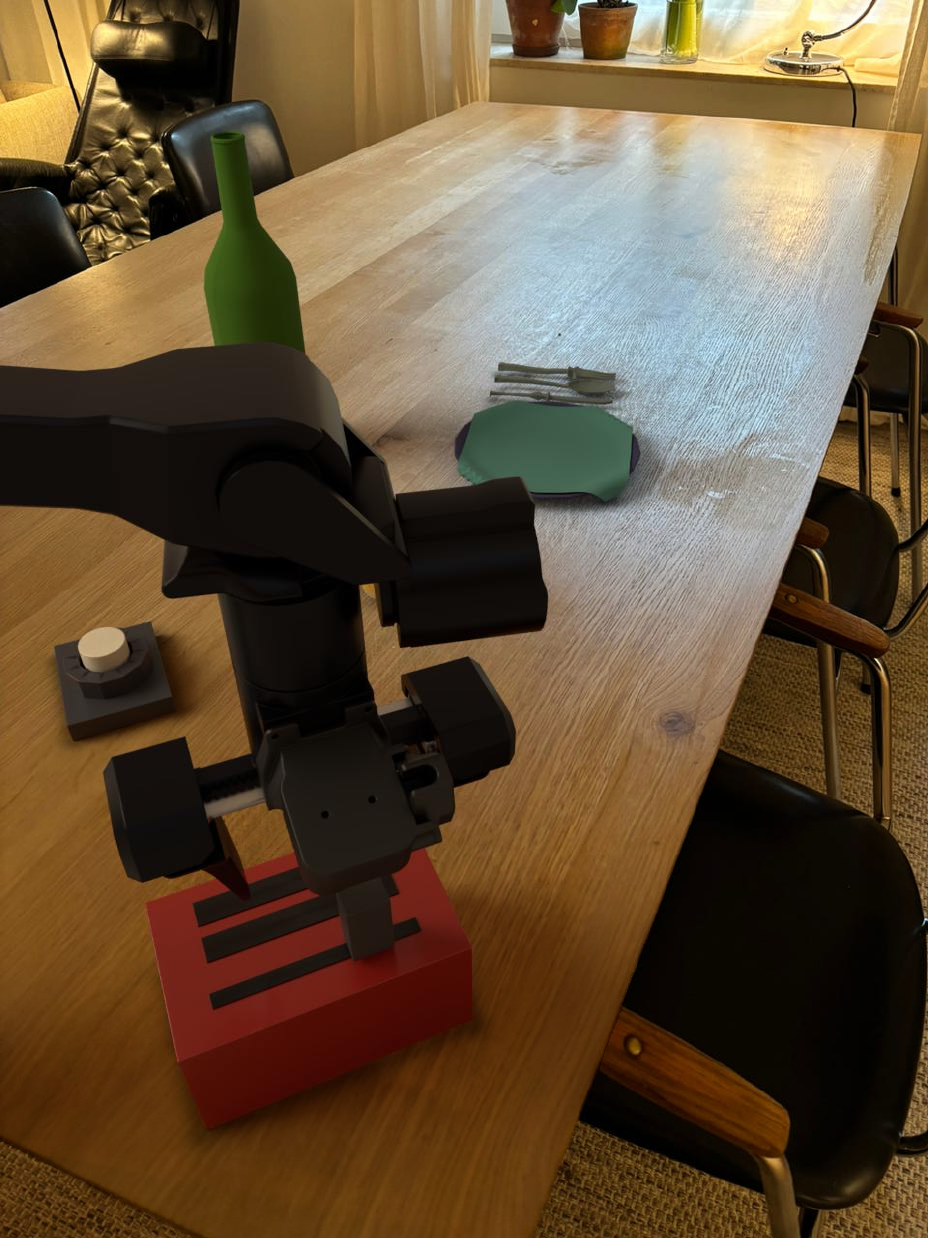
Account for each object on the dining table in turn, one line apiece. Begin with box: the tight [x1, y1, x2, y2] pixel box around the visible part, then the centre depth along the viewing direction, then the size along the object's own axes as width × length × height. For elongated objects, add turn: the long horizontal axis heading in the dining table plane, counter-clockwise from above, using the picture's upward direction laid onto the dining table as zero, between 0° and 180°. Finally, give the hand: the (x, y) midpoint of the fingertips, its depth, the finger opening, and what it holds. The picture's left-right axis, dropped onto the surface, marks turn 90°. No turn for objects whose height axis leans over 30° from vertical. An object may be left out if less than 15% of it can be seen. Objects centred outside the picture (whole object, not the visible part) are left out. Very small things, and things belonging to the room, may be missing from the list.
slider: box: [336, 877, 395, 962], centre depth 53 cm, size 2×2×4 cm
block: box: [53, 620, 177, 742], centre depth 80 cm, size 8×10×4 cm
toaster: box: [144, 848, 474, 1131], centre depth 58 cm, size 16×10×8 cm, turn 113°
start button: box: [78, 626, 130, 673], centre depth 79 cm, size 4×4×2 cm
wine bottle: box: [203, 130, 307, 355], centre depth 98 cm, size 9×9×32 cm
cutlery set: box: [454, 361, 642, 503], centre depth 110 cm, size 20×30×2 cm, turn 170°
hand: (331, 864), depth 53 cm, fingers open, 9 cm apart
